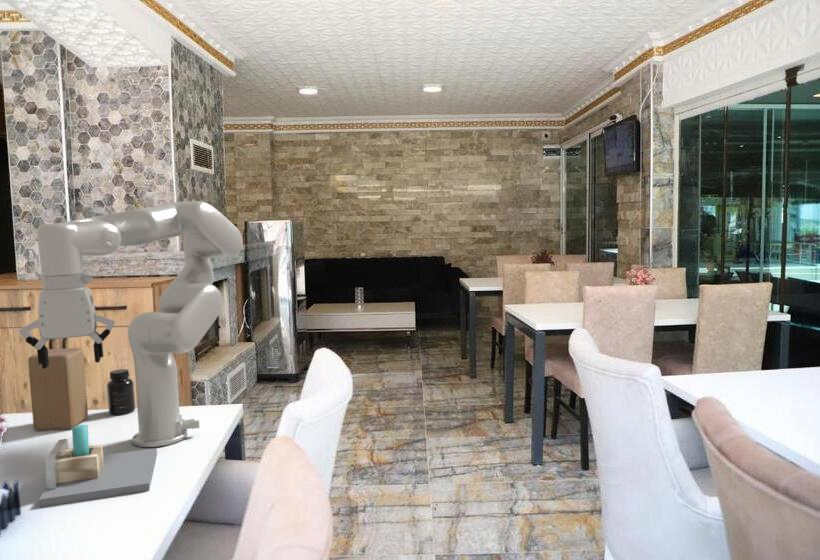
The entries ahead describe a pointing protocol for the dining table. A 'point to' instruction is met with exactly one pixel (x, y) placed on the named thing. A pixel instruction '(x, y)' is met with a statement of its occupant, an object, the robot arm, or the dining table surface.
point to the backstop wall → (54, 464)
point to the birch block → (80, 465)
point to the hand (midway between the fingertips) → (72, 364)
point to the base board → (108, 479)
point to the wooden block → (58, 390)
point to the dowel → (80, 440)
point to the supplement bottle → (120, 393)
